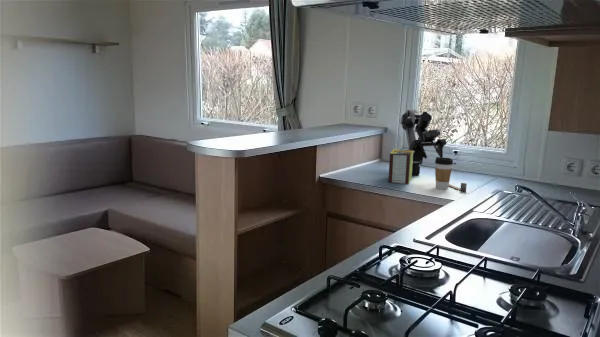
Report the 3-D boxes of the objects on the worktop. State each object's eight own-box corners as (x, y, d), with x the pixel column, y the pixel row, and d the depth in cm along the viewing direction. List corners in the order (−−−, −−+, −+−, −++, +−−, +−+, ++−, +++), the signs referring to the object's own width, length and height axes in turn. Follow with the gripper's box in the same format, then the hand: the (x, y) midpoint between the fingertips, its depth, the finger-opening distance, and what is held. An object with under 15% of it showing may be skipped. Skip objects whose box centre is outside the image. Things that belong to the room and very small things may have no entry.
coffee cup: (430, 186, 231) (432, 156, 228) (446, 186, 232) (449, 156, 229) (436, 190, 223) (439, 159, 220) (453, 190, 224) (456, 159, 221)
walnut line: (467, 192, 220) (467, 183, 219) (462, 192, 219) (463, 184, 218) (444, 183, 238) (444, 175, 238) (439, 183, 238) (440, 175, 237)
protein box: (411, 178, 248) (413, 150, 245) (408, 184, 234) (410, 154, 231) (392, 176, 251) (393, 148, 249) (387, 182, 237) (389, 152, 234)
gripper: (414, 123, 231) (425, 148, 223) (446, 123, 237) (458, 147, 229) (405, 137, 240) (415, 162, 232) (435, 136, 246) (447, 160, 238)
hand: (434, 157), depth 232 cm, fingers open, 9 cm apart
